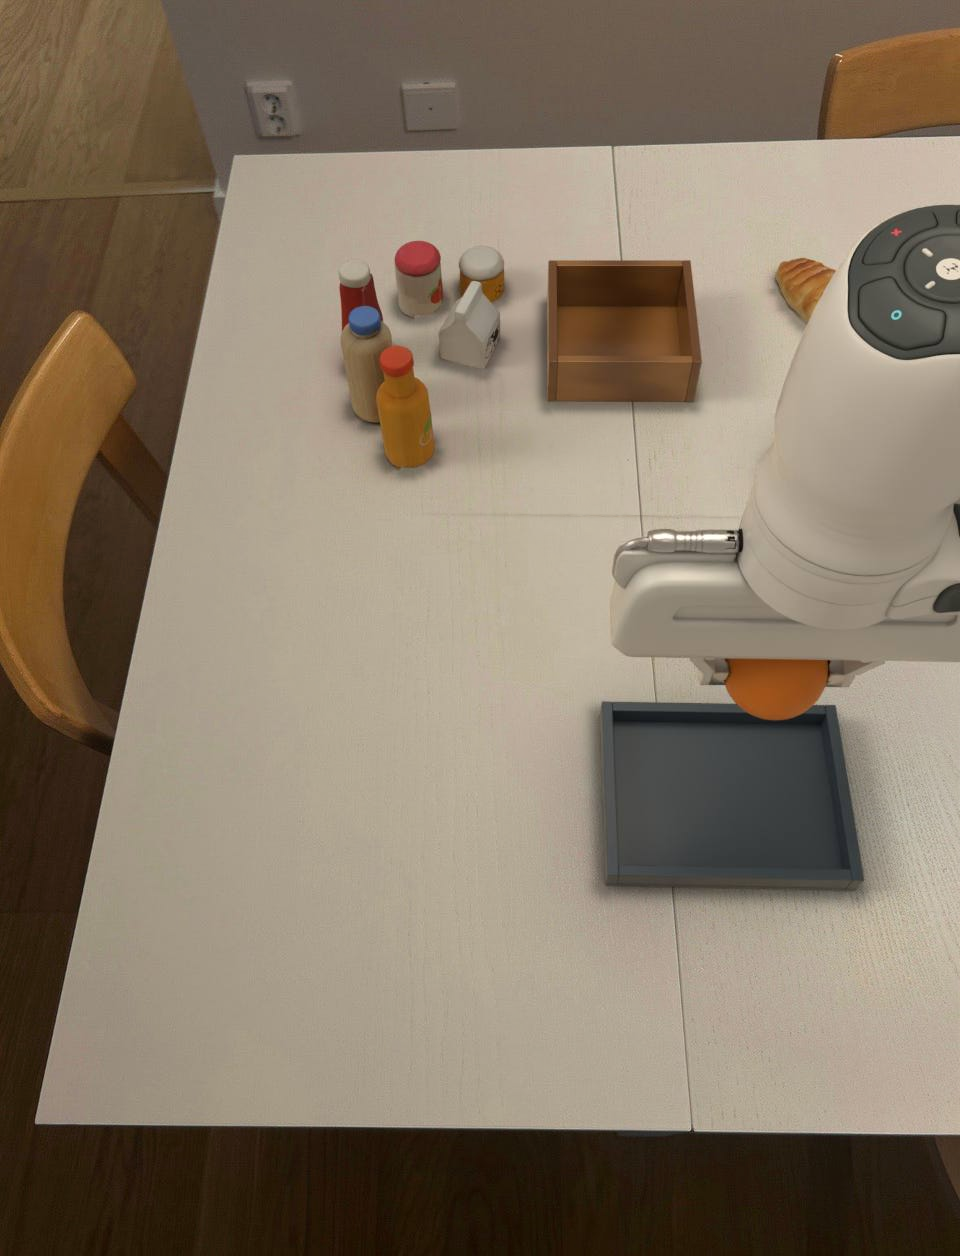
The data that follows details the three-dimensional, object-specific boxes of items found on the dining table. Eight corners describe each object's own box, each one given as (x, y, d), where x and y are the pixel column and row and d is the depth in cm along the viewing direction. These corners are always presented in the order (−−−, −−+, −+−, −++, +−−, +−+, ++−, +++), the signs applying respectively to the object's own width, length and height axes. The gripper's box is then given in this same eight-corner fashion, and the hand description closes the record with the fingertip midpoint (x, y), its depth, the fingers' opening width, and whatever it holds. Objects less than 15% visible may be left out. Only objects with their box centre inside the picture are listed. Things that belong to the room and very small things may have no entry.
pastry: (756, 286, 108) (764, 255, 105) (808, 263, 110) (817, 232, 106) (816, 341, 104) (826, 311, 100) (869, 317, 105) (881, 286, 102)
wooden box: (682, 307, 107) (690, 260, 102) (692, 407, 99) (701, 362, 94) (546, 307, 107) (548, 259, 102) (547, 407, 100) (548, 361, 95)
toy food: (427, 479, 96) (417, 383, 85) (301, 442, 98) (276, 344, 88) (530, 289, 108) (532, 186, 98) (416, 261, 111) (406, 157, 101)
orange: (807, 652, 66) (831, 598, 61) (820, 738, 63) (848, 689, 58) (710, 650, 66) (727, 597, 61) (719, 737, 63) (737, 688, 58)
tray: (827, 719, 82) (835, 704, 80) (855, 891, 75) (864, 880, 73) (599, 715, 83) (601, 701, 81) (604, 886, 76) (607, 875, 74)
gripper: (620, 586, 50) (597, 720, 62) (1063, 593, 49) (955, 726, 61) (615, 482, 53) (594, 628, 65) (1029, 486, 53) (933, 633, 64)
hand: (772, 676), depth 63 cm, fingers closed on orange, 6 cm apart
